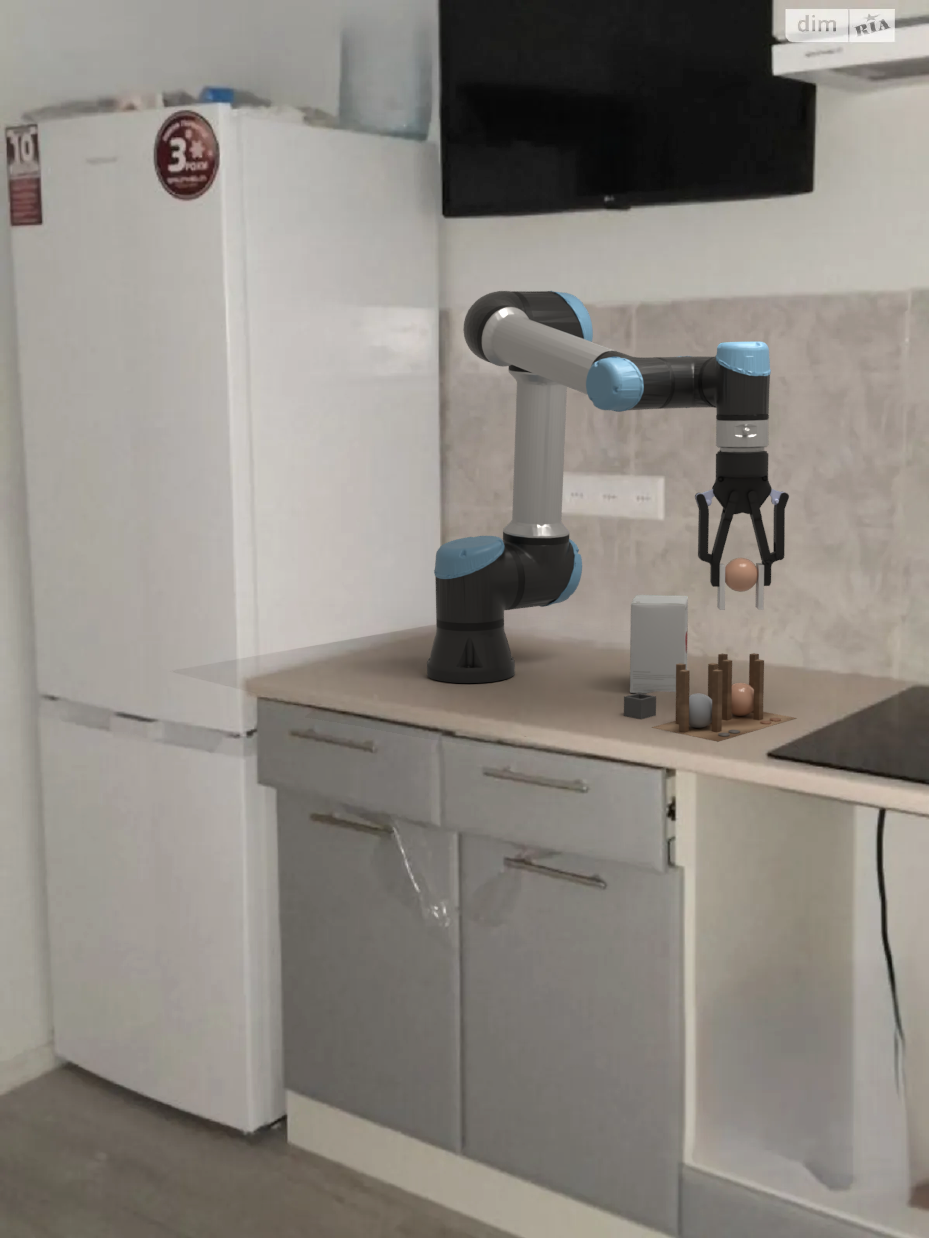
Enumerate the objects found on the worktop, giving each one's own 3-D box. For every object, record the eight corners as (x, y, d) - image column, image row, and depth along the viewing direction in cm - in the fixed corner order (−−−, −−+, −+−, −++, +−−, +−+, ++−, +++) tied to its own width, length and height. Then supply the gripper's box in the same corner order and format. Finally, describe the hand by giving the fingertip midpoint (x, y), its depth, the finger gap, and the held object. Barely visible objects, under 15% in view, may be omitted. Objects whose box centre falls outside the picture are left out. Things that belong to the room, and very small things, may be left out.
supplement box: (685, 695, 244) (686, 603, 241) (629, 694, 246) (629, 602, 243) (688, 683, 253) (689, 594, 250) (634, 682, 254) (634, 593, 252)
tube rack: (651, 731, 221) (651, 667, 220) (731, 709, 234) (731, 648, 232) (718, 745, 213) (719, 679, 211) (796, 722, 225) (798, 659, 224)
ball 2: (716, 715, 227) (716, 683, 227) (736, 710, 231) (736, 677, 230) (743, 721, 224) (744, 688, 223) (763, 715, 227) (764, 682, 226)
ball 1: (673, 727, 221) (674, 693, 220) (695, 721, 224) (695, 688, 223) (701, 733, 217) (701, 699, 216) (722, 727, 220) (723, 693, 220)
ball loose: (721, 589, 226) (721, 555, 226) (755, 588, 226) (755, 555, 225) (725, 594, 222) (726, 560, 221) (760, 593, 221) (760, 559, 220)
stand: (623, 719, 229) (623, 696, 228) (638, 715, 231) (638, 692, 230) (641, 723, 226) (641, 700, 226) (655, 719, 229) (656, 696, 228)
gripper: (682, 452, 217) (681, 613, 221) (809, 450, 216) (806, 611, 220) (677, 449, 225) (676, 605, 228) (799, 447, 224) (797, 603, 228)
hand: (740, 607), depth 224 cm, fingers closed on ball loose, 5 cm apart
